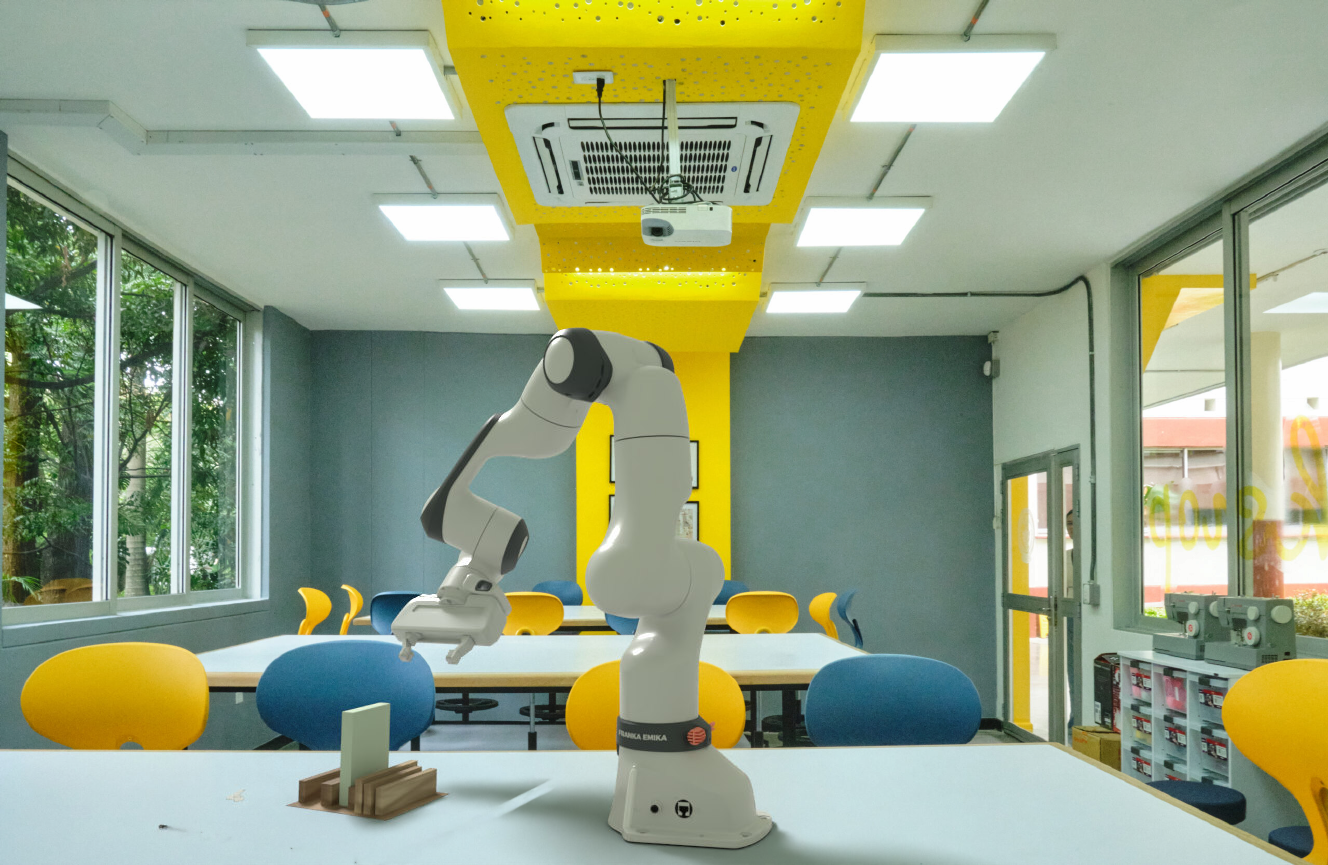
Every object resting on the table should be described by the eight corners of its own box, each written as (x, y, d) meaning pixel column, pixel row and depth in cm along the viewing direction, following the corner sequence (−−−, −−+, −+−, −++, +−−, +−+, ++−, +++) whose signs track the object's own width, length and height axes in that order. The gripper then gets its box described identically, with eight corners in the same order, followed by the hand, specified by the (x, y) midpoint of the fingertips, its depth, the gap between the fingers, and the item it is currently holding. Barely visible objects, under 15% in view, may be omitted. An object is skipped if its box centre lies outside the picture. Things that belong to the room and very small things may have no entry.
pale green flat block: (387, 792, 138) (390, 703, 139) (350, 806, 131) (352, 712, 132) (377, 790, 139) (379, 702, 140) (339, 804, 131) (342, 711, 133)
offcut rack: (449, 801, 137) (450, 762, 138) (385, 829, 124) (387, 785, 125) (354, 789, 144) (355, 751, 145) (285, 813, 131) (287, 772, 132)
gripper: (407, 582, 162) (367, 645, 152) (506, 584, 154) (470, 651, 144) (423, 606, 165) (384, 669, 155) (520, 609, 157) (486, 676, 147)
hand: (426, 660), depth 149 cm, fingers open, 8 cm apart
